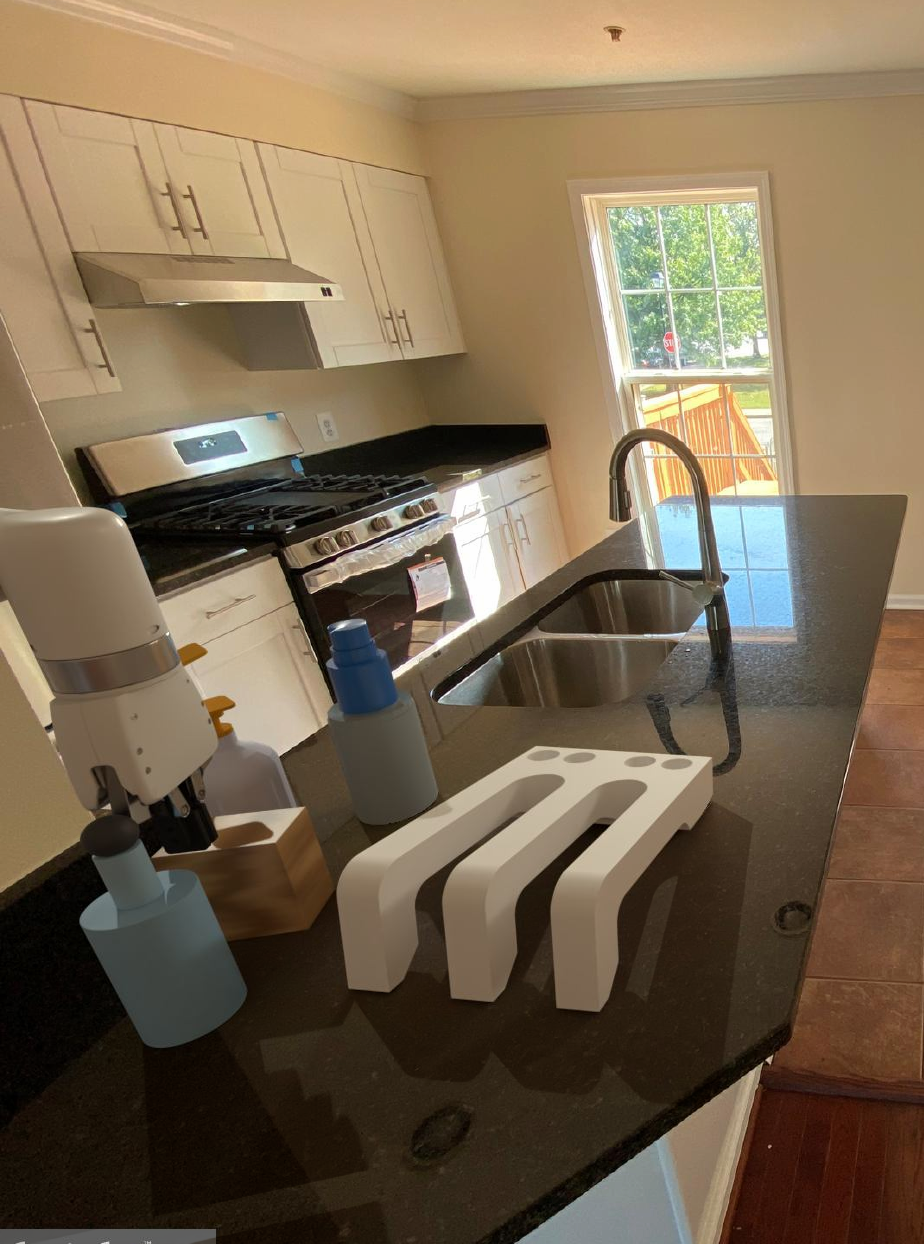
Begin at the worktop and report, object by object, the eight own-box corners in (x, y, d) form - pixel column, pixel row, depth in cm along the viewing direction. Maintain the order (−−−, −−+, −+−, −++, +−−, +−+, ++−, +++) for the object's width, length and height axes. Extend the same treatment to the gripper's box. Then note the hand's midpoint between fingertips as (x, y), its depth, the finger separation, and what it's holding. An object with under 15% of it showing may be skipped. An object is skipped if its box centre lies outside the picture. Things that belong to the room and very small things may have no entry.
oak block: (191, 947, 70) (149, 858, 66) (227, 903, 75) (190, 819, 71) (308, 929, 72) (275, 842, 68) (335, 889, 78) (306, 806, 74)
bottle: (237, 1047, 63) (71, 969, 48) (142, 1063, 62) (-59, 988, 47) (288, 905, 72) (160, 801, 57) (205, 916, 70) (52, 812, 55)
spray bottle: (426, 775, 98) (380, 605, 88) (448, 803, 92) (402, 624, 83) (349, 803, 92) (290, 623, 82) (368, 834, 86) (308, 645, 77)
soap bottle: (316, 831, 87) (251, 646, 77) (221, 874, 80) (137, 675, 70) (284, 806, 91) (219, 628, 82) (192, 845, 84) (109, 655, 75)
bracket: (712, 757, 93) (593, 890, 61) (713, 842, 95) (599, 1011, 64) (536, 746, 95) (333, 869, 63) (541, 829, 97) (348, 988, 66)
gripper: (123, 632, 63) (195, 804, 70) (-29, 711, 50) (79, 913, 57) (222, 626, 65) (283, 794, 72) (102, 700, 52) (191, 897, 59)
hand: (193, 846), depth 65 cm, fingers closed
